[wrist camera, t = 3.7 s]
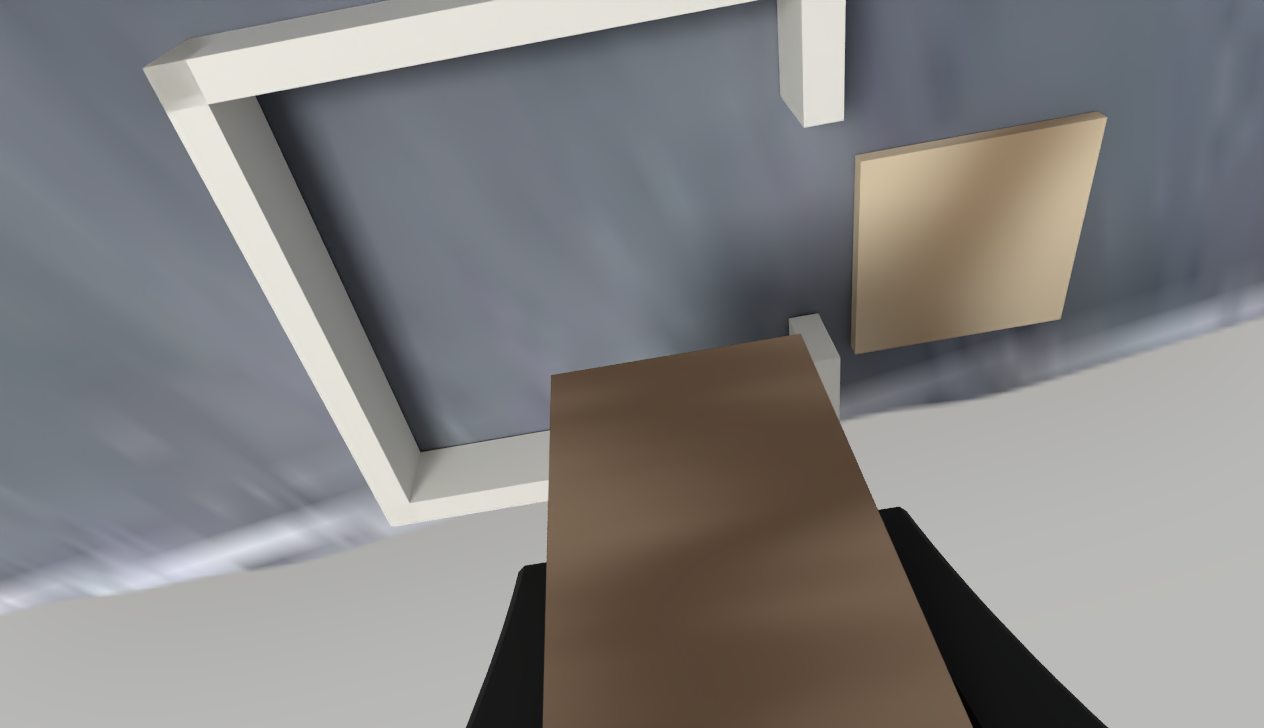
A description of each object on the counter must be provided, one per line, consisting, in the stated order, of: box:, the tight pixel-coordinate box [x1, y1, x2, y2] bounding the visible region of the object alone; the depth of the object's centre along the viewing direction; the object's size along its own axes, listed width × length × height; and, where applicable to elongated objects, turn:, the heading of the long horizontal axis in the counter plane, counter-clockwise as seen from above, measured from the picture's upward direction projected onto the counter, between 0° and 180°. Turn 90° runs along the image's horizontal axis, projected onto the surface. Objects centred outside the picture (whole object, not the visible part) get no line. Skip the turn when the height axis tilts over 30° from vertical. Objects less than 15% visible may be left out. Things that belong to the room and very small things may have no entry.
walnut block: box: [543, 334, 973, 728], centre depth 10 cm, size 4×4×7 cm
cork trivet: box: [851, 111, 1107, 354], centre depth 19 cm, size 6×6×1 cm
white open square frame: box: [142, 0, 846, 527], centre depth 18 cm, size 13×13×2 cm
